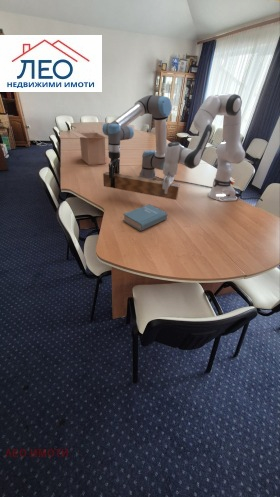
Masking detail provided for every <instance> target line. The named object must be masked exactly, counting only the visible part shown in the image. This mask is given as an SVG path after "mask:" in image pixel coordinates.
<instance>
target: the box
mask: <svg viewBox="0 0 280 497" xmlns="http://www.w3.org/2000/svg"><path fill="white" fill-rule="evenodd" d="M70 133H71V134H72V135H74V136H75V137H77V138H79V144H80V153H81V160H83V162H85V163H86V165H87V166H95V165H97V166H98V165H106V163H107V162H106V158H107V157H106V138H108V136H107V135H105V134H104V133H103V131H98V132H96V131H95V130H92V129H91V130H77V132H76V131H70Z"/></svg>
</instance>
